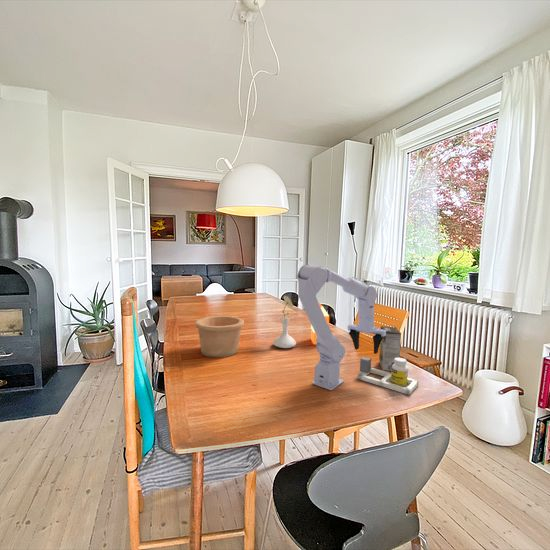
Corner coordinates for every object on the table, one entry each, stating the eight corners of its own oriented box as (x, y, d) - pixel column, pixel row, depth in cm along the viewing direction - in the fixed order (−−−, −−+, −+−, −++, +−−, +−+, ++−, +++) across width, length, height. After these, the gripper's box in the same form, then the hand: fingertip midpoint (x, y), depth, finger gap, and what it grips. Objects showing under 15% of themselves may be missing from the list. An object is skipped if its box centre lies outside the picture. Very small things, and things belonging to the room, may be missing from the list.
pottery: (237, 342, 154) (238, 314, 153) (248, 357, 133) (248, 325, 132) (194, 345, 147) (193, 316, 146) (197, 362, 127) (197, 328, 125)
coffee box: (378, 362, 132) (380, 325, 130) (393, 363, 131) (396, 326, 129) (382, 370, 123) (384, 331, 121) (399, 371, 122) (401, 332, 120)
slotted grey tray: (409, 395, 102) (410, 376, 101) (355, 378, 114) (356, 361, 114) (418, 384, 110) (419, 367, 110) (366, 369, 123) (367, 354, 122)
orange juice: (313, 344, 154) (314, 305, 152) (310, 339, 163) (311, 302, 161) (328, 344, 154) (330, 305, 152) (325, 339, 163) (326, 302, 161)
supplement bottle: (388, 385, 110) (389, 359, 109) (394, 380, 113) (396, 355, 112) (403, 390, 106) (404, 363, 105) (409, 385, 109) (411, 359, 109)
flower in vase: (297, 350, 144) (298, 298, 141) (273, 350, 144) (274, 298, 141) (295, 341, 157) (296, 294, 154) (273, 341, 157) (274, 293, 154)
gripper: (389, 316, 114) (388, 351, 116) (352, 311, 123) (353, 344, 125) (382, 321, 108) (381, 357, 110) (344, 315, 118) (345, 349, 119)
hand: (366, 350), depth 117 cm, fingers open, 7 cm apart
